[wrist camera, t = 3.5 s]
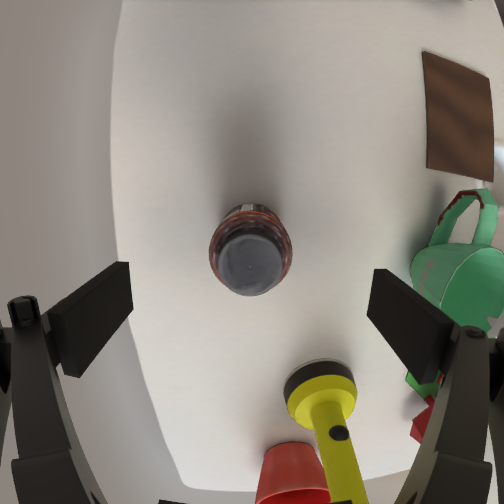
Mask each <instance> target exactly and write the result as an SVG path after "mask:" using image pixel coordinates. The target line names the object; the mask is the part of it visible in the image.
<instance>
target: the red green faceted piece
mask: <svg viewBox="0 0 504 504" xmlns="http://www.w3.org/2000/svg"><path fill="white" fill-rule="evenodd" d="M492 338H495V337H492ZM442 378H443V374H442V373H441V372H440V370H439V371H438V374H437V376H436V379H435V381H434V383H429V384H424V385H419V384H418V383H417V382H416V380H415V379H414V378H413V376H412V375H411V373H410V372H408V375H407V377H406V382H407V383H408V384H409V385H410V386H411V387H412V388H413V389H415V390H416V391H417V392H418V393H419V394H420V395H421V396H422V397H423V398H424V400H425V401H426V403H427V404H428V405H429V407H428V408H426V409H425V410H424V411H423V412H422V413H420V414H419V415H418V416H417V417H415V418H414V419H413V420H412V421H413V425H412V428H411V432H410V436H411V437H413V438H414V439H415V440H416V441H418V442H419V443H420V444H421V442H422V440H423V437H424V434H425V431H426V429H427V426H428V423H429V420H430V417H431V414H432V410H433V407H434V404H435V400H436V398H434V396H435V394H436V392H437V390H438V387H439V385H440V383H441V380H442Z"/></svg>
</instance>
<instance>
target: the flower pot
mask: <svg viewBox="0 0 504 504" xmlns="http://www.w3.org/2000/svg"><path fill="white" fill-rule="evenodd" d="M326 503H332V501H331V497H330V493H329V488H328V484H327V480H326V476H325V472H324V468H323V467H322V465H321V463H320V461H319V459H318V457H317V455H316V453H315V451H314V449H313V448H312V447H311V446H310V445H308V444H305V443H301V442H294V443H291V442H288V443H283V444H279V445H277V446H274V447H273V448H271V449H270V450H268V451H267V452H266V454H265V456H264V461H263V465H262V469H261V474H260V479H259V484H258V489H257V494H256V500H255V504H326Z"/></svg>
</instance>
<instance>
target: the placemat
mask: <svg viewBox="0 0 504 504" xmlns="http://www.w3.org/2000/svg"><path fill="white" fill-rule="evenodd" d="M422 58H423V67H424V78H425V91H426V109H427V164H426V168H430V169H435V170H440V171H445V172H449V173H454V174H459V175H463V176H467V177H472V178H476V179H480V180H484V181H488V182H493V178H494V126H493V110H492V99H491V90H490V82H489V78H487V77H485V76H483V75H481V74H479V73H477V72H475V71H472V70H470V69H468V68H466V67H464V66H461V65H459V64H457V63H454V62H452V61H449V60H447V59H444V58H442V57H439V56H437V55H434V54H431V53H428V52H425V51H423V52H422Z"/></svg>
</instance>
